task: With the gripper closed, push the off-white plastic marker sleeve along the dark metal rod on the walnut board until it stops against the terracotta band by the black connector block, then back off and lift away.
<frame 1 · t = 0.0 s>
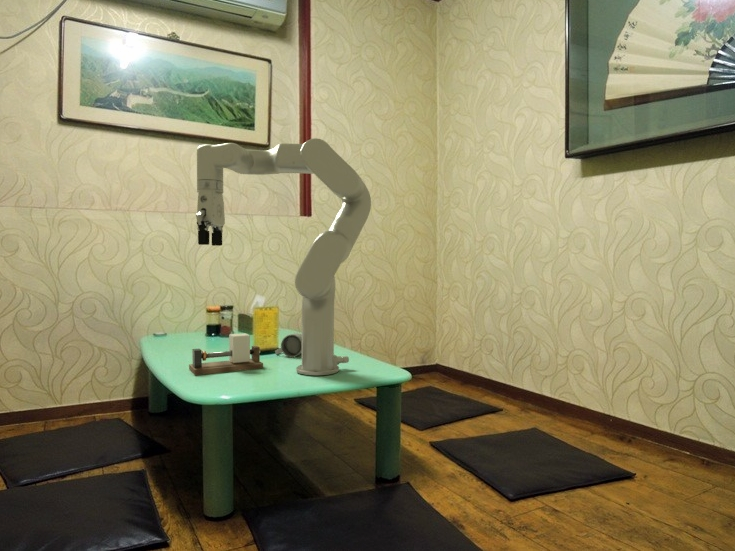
hand: (210, 245, 152), 37 cm above the table, tool pointing down, fingers open, 9 cm apart
marker sleeve: (239, 347, 154), point 6 cm above the table, slide at 0.0 cm
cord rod: (224, 355, 152), point 4 cm above the table
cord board: (226, 368, 153), on the table
ceramic mug: (290, 355, 175), on the table
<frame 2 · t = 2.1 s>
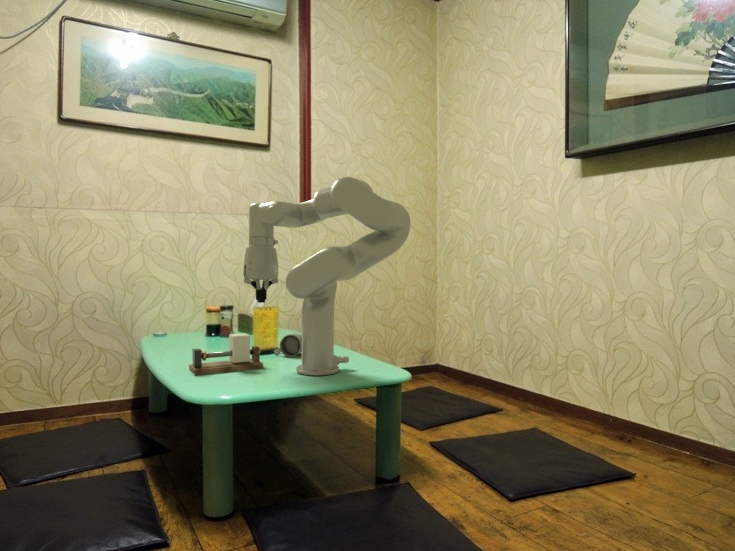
hand: (261, 302, 157), 20 cm above the table, tool pointing down, fingers closed
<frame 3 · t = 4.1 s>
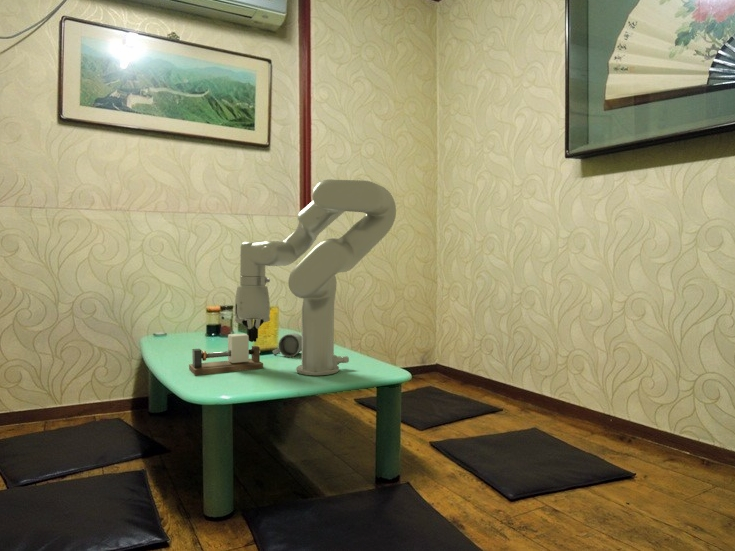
hand: (252, 341, 156), 8 cm above the table, tool pointing down, fingers closed
marker sleeve: (238, 347, 154), point 6 cm above the table, slide at 0.4 cm, touching gripper
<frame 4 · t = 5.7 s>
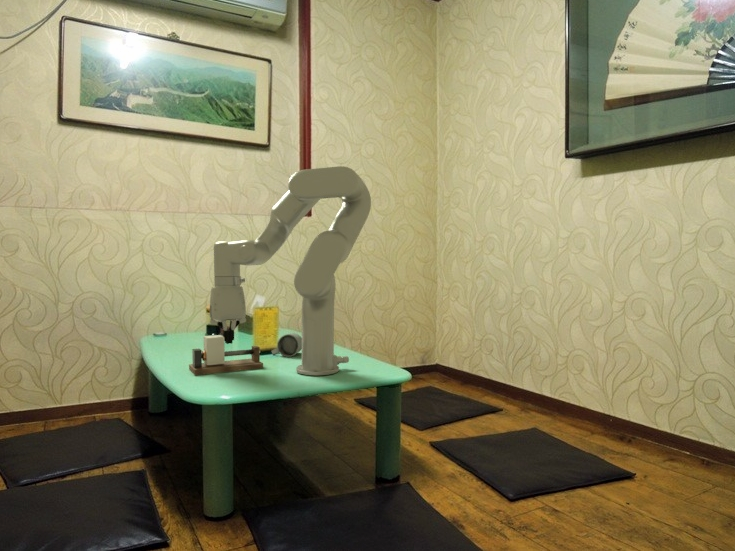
hand: (228, 342, 153), 8 cm above the table, tool pointing down, fingers closed
marker sleeve: (214, 349, 151), point 6 cm above the table, slide at 7.6 cm, touching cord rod, gripper
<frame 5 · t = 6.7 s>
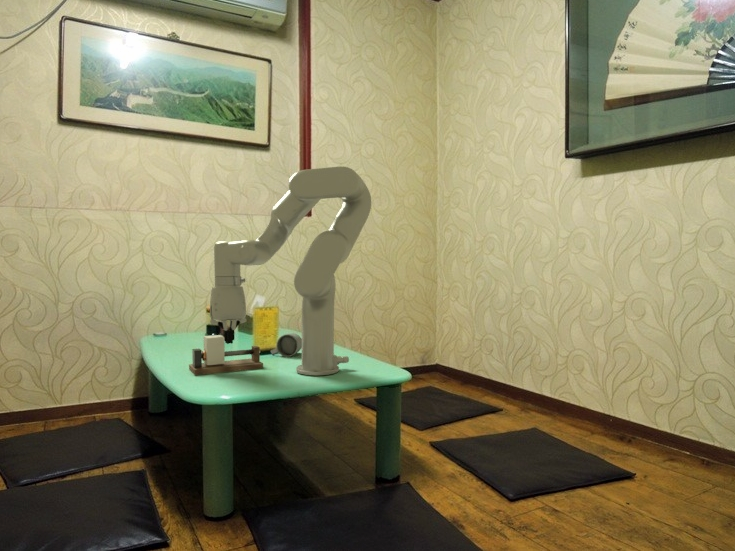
hand: (229, 342, 153), 8 cm above the table, tool pointing down, fingers closed
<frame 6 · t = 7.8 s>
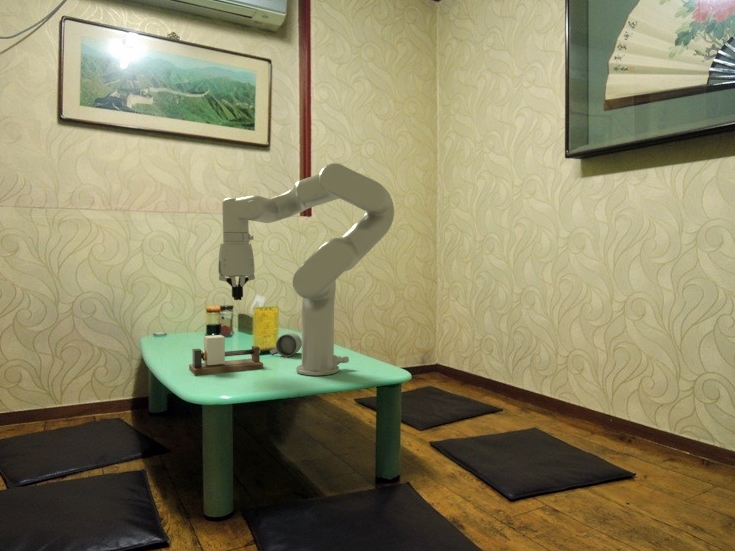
hand: (237, 299, 153), 21 cm above the table, tool pointing down, fingers closed
marker sleeve: (214, 349, 151), point 6 cm above the table, slide at 7.5 cm
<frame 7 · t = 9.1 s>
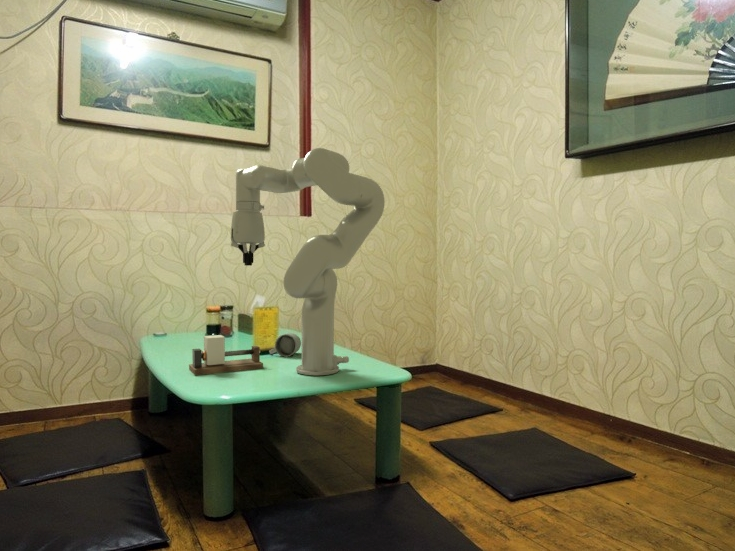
hand: (248, 265, 163), 31 cm above the table, tool pointing down, fingers closed
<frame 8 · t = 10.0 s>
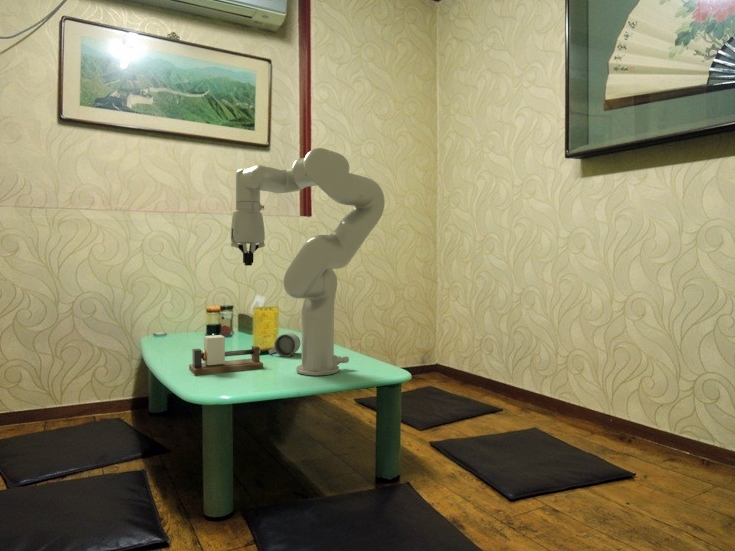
hand: (248, 265, 163), 31 cm above the table, tool pointing down, fingers closed
at the end: marker sleeve slide at 7.5 cm; the gripper is holding nothing; ceramic mug moved 2.5 cm from its start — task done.
